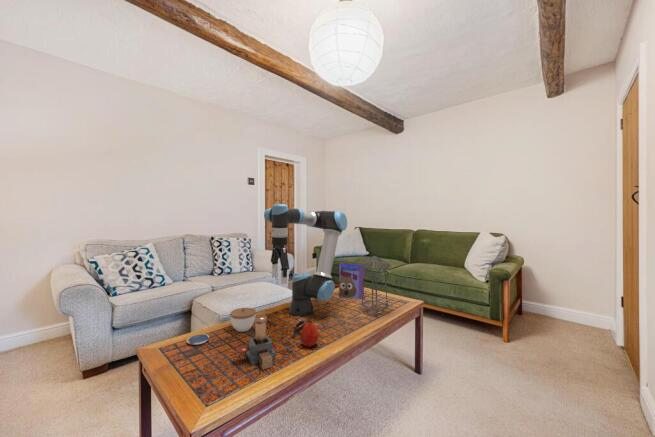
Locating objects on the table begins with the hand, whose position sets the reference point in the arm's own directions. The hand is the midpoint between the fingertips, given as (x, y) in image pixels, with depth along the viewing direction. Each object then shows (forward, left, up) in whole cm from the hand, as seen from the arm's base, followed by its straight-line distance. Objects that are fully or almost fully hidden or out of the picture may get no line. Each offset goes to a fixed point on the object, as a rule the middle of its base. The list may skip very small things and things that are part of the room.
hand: (279, 280), depth 134 cm
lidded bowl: (-19, -13, -29) cm, 37 cm away
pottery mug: (+2, +13, -29) cm, 32 cm away
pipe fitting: (+12, -12, -26) cm, 31 cm away
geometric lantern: (-8, +64, -29) cm, 71 cm away
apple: (+12, +11, -29) cm, 33 cm away
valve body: (+12, -15, -29) cm, 34 cm away
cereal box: (-37, +67, -29) cm, 82 cm away
